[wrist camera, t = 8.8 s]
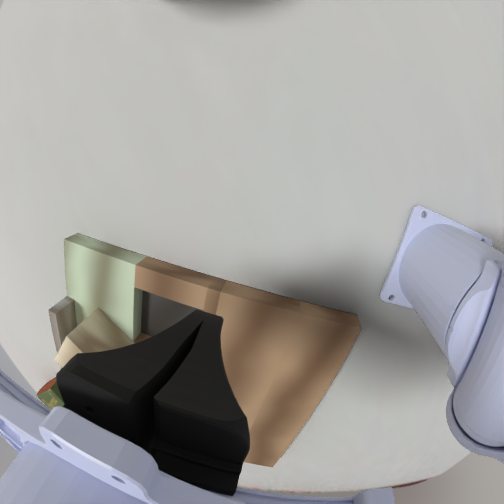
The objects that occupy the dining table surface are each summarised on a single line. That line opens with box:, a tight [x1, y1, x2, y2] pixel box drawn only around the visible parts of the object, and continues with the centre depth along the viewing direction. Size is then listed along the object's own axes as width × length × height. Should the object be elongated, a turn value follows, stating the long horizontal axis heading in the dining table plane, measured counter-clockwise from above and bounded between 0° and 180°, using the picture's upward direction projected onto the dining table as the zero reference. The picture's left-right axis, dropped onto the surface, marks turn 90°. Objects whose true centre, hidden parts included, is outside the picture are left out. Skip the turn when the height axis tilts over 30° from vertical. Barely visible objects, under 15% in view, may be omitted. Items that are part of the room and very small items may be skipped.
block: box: [55, 308, 135, 368], centre depth 21 cm, size 5×5×5 cm
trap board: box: [49, 233, 361, 467], centre depth 24 cm, size 26×24×5 cm
